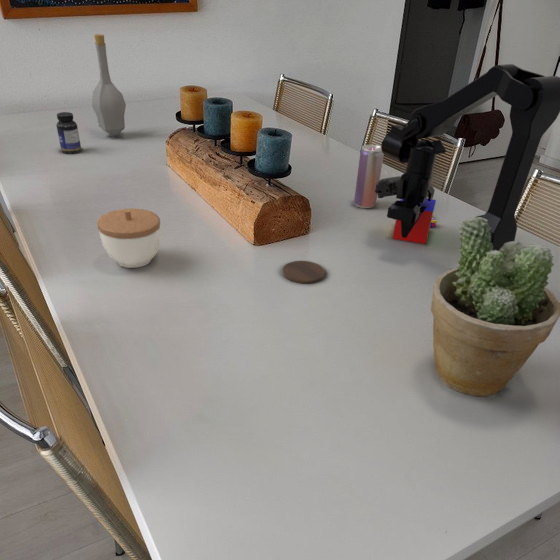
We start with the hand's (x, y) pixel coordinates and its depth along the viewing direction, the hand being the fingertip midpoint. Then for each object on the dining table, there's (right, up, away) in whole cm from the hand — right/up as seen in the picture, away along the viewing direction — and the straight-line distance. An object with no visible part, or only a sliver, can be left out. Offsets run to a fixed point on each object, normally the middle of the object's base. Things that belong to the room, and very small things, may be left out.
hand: (404, 237), depth 128 cm
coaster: (-24, -11, -11) cm, 29 cm away
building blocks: (+8, +7, +14) cm, 18 cm away
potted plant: (+3, -33, -37) cm, 49 cm away
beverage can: (-6, +14, +21) cm, 26 cm away
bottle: (-87, +50, +60) cm, 117 cm away
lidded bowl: (-61, -8, -10) cm, 62 cm away
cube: (+3, +2, +7) cm, 8 cm away
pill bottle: (-96, +39, +46) cm, 113 cm away
